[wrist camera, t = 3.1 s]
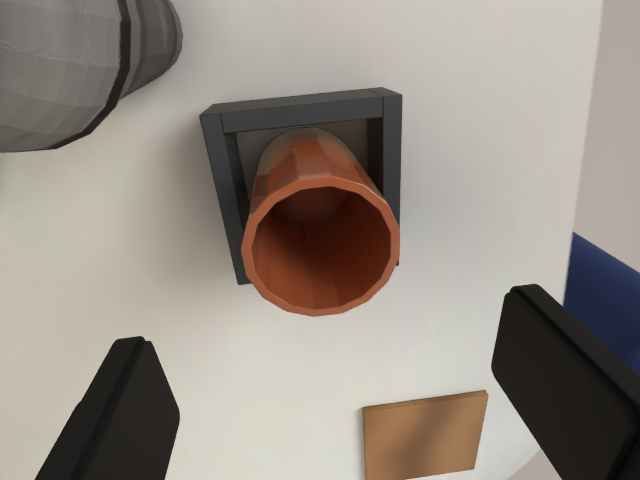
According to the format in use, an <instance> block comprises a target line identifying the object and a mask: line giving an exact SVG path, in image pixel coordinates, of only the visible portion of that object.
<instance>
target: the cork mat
mask: <svg viewBox="0 0 640 480" xmlns="http://www.w3.org/2000/svg"><path fill="white" fill-rule="evenodd" d="M487 400H488V394H487V392H486V391H478V392H471V393H464V394H457V395H450V396H443V397H436V398H428V399H421V400H414V401H407V402H400V403H393V404H386V405H378V406H371V407H364V408H363V424H364V448H365V472H366V480H406V479H412V478H419V477H426V476H432V475H439V474H446V473H452V472H459V471H466V470H472V469H474V467H475V462H476V457H477V451H478V446H479V441H480V436H481V431H482V426H483V421H484V416H485V411H486V406H487Z"/></svg>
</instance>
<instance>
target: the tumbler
mask: <svg viewBox="0 0 640 480" xmlns="http://www.w3.org/2000/svg"><path fill="white" fill-rule="evenodd" d="M241 253H242V257H243V262H244V267H245V271H246V275H247V277H248V278H249V280H250V281H251V282H252V284H253V285H254V286H255V288H256V289H257V290H258V292H259V293H260V294H261V296H262V297H263V298H264V299H266V300H268V301H270V302H271V303H273V304H275V305H276V306H278V307H280V308H281V309H283V310H285V311H287V312H292V313H297V314H302V315H307V316H312V317H316V316H324V315H332V314H340V313H344V312H346V311H348V310H350V309H352V308H354V307H357V306H359V305H361V304H363V303H365V302H367V301H369V300H370V299H371V298H372V297H373V296H374V295H375V294H376V293H377V292H378V291H379V290H380V289H381V288H382V287H383V286H384V285H385V284H386V283H387V282H388V281H389V278H390V276H391V274H392V272H393V270H394V268H395V266H396V263H397V261H398V259H399V253H400V229H399V227H398V224H397V222H396V220H395V218H394V216H393V213H392V211H391V209H390V207H389V205H388V203H387V202H386V201H385V199H384V198H383V196H382V195H381V193H380V192H379V191H378V189H377V188H376V186H375V185H374V183H373V182H372V181H371V179H370V178H369V176H368V175H367V173H366V172H365V171H364V169H363V168H362V166H361V165H360V163H359V162H358V160H357V159H356V158H355V156H354V155H353V153H352V152H351V150H350V149H349V148H348V147H347V146H346V145H345V144H344V143H343V142H342V141H341V140H340V139H339V138H338V137H336V136H335V135H333V134H332V133H330V132H328V131H325V130H323V129H319V128H314V127H300V128H295V129H292V130H288V131H286V132H284V133H282V134H281V135H279V136H278V137H276V138H275V139H274V140H273V141H271V143H270V144H269V145H268V146H267V147H266V149H265V150H264V152H263V154H262V156H261V157H260V160H259V164H258V168H257V172H256V176H255V181H254V186H253V191H252V196H251V201H250V206H249V211H248V216H247V220H246V225H245V230H244V235H243V240H242V245H241Z"/></svg>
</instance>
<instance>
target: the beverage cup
mask: <svg viewBox="0 0 640 480" xmlns="http://www.w3.org/2000/svg"><path fill="white" fill-rule="evenodd" d="M182 37H183V33H182V28H181V23H180V19H179V17H178V15H177V13H176V11H175V9H174V7H173V5H172V3H171V2H170V1H169V0H0V153H5V152H26V151H38V150H50V149H58V148H60V147H62V146H64V145H67V144H69V143H71V142H73V141H75V140H78V139H80V138H82V137H84V136H86V135H89V134H91V133H92V132H93V131H94V129H95V128H96V127H97V126H98V125H99V124H100V123H101V122H102V121H103V120H104V119H105V118H106V117H107V116H108V115H109V113H110V112H111V111H112V110H113V109H114V108H115V107H116V105H117V102H118V101H119V100H120V99H122V98H124V97H125V96H127V95H129V94H131V93H132V92H134V91H136V90H137V89H139V88H141V87H143V86H144V85H146V84H148V83H149V82H151V81H153V80H155V79H156V78H158V77H160V76H161V75H163V74H164V73H165V72H166V71H167V70H168V69H169V68H170V67H171V66H172V65H173V64H174V63H175V62H176V61H177V58H178V56H179V54H180V51H181V49H182Z"/></svg>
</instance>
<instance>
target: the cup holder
mask: <svg viewBox="0 0 640 480" xmlns="http://www.w3.org/2000/svg"><path fill="white" fill-rule="evenodd" d="M199 117H200V121H201V126H202V130H203V135H204V139H205V143H206V148H207V152H208V156H209V161H210V165H211V169H212V174H213V178H214V183H215V187H216V191H217V196H218V200H219V204H220V209H221V213H222V218H223V222H224V226H225V231H226V235H227V239H228V244H229V248H230V252H231V257H232V261H233V266H234V270H235V274H236V279H237V283H238V285H243V284H251V283H252V282H251V281H250V280H249V278H248V277H247V275H246V271H245V267H244V262H243V257H242V253H241V245H242V240H243V235H244V230H245V225H246V220H247V216H248V211H249V203H248V198H247V192H246V187H245V182H244V176H243V171H242V166H241V160H240V155H239V150H238V144H237V139H236V134H235V132H244V131H253V130H263V129H273V128H282V127H292V126H302V125H311V124H321V123H331V122H340V121H350V120H359V119H367V145H368V176H369V178H370V179H371V181H372V182H373V183H374V185H375V186H376V188H377V189H378V191H379V192H380V193H381V195H382V196H383V198H384V199H385V201H386V202H387V203H388V205H389V207H390V209H391V211H392V213H393V216H394V218H395V220H396V222H397V224H398V227H399V228H400V181H401V134H402V94H399V93H396V92H394V91H391V90H388V89H385V88H383V87H380V88H370V89H360V90H350V91H340V92H330V93H320V94H310V95H300V96H290V97H280V98H270V99H260V100H250V101H240V102H230V103H220V104H213V105H212V106H210V107H209V108H208V109H207V110H205V111H204V112H203V113H202V114H200V116H199ZM398 265H399V259H398V261H397V263H396V266H398Z"/></svg>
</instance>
